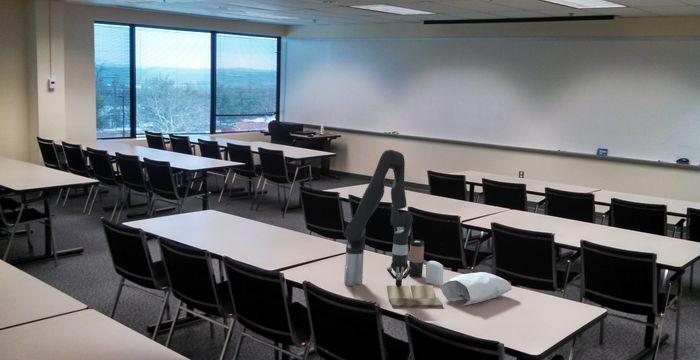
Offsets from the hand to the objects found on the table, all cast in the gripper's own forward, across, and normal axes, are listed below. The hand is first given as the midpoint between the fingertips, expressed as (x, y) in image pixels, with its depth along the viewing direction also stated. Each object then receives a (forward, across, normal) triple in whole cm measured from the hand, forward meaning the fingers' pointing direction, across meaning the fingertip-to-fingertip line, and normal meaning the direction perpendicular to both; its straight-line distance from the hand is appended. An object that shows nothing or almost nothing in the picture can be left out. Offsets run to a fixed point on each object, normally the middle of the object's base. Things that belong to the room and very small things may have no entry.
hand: (398, 286), depth 314 cm
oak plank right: (+3, +12, -3) cm, 12 cm away
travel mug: (+6, +16, +36) cm, 40 cm away
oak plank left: (+3, 0, -3) cm, 4 cm away
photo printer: (+6, +23, +22) cm, 33 cm away
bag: (+6, +39, -3) cm, 39 cm away
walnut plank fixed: (+5, +6, -12) cm, 15 cm away
